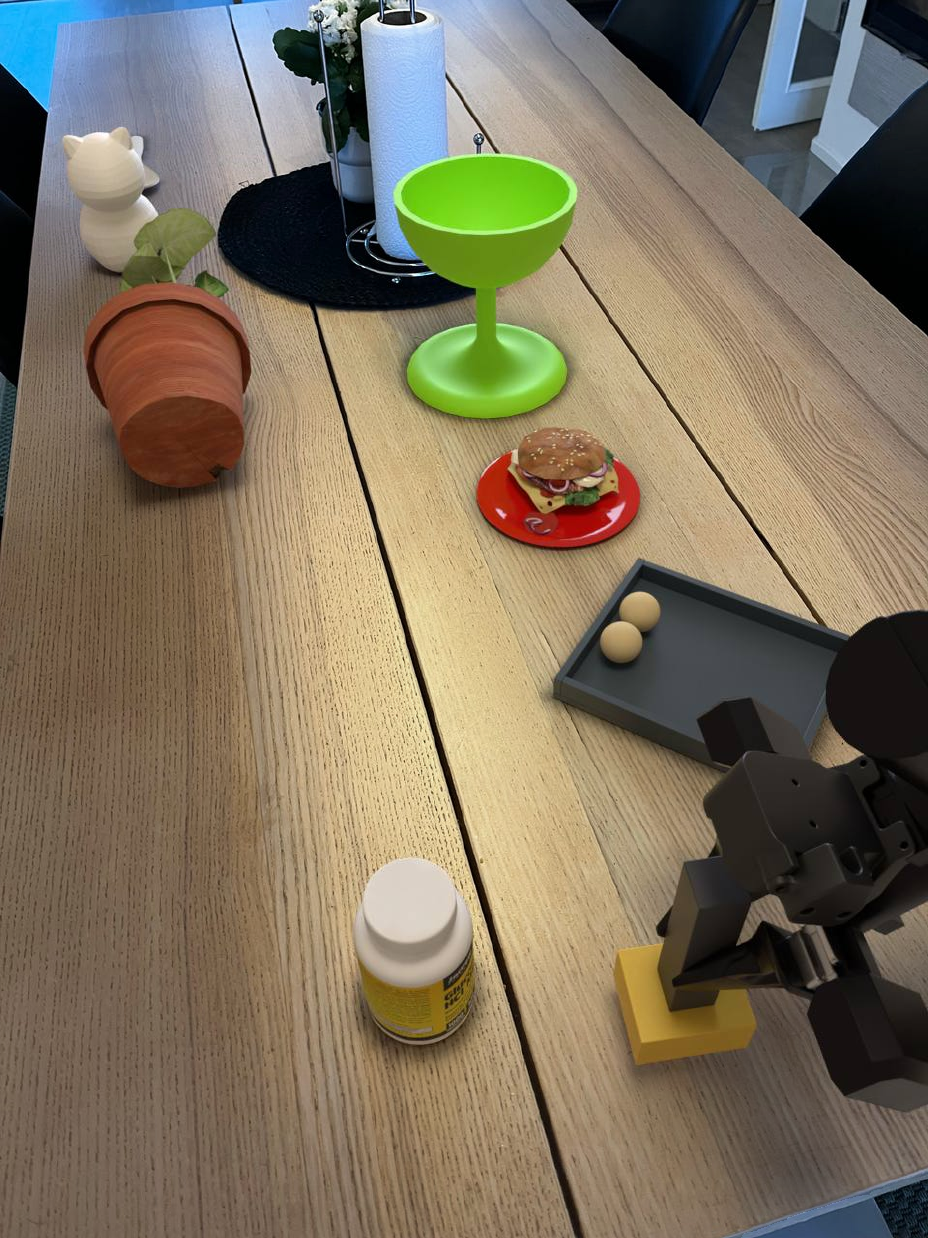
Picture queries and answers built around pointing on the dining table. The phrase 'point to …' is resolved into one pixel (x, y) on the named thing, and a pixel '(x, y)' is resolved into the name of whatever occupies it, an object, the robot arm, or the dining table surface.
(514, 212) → the wineglass
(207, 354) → the potted plant
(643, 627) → the crumb
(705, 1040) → the grey and yellow block
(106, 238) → the cat figurine
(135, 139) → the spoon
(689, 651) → the tray
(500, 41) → the dining table surface
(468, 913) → the pill bottle
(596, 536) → the hamburger
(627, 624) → the crumb
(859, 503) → the dining table surface
